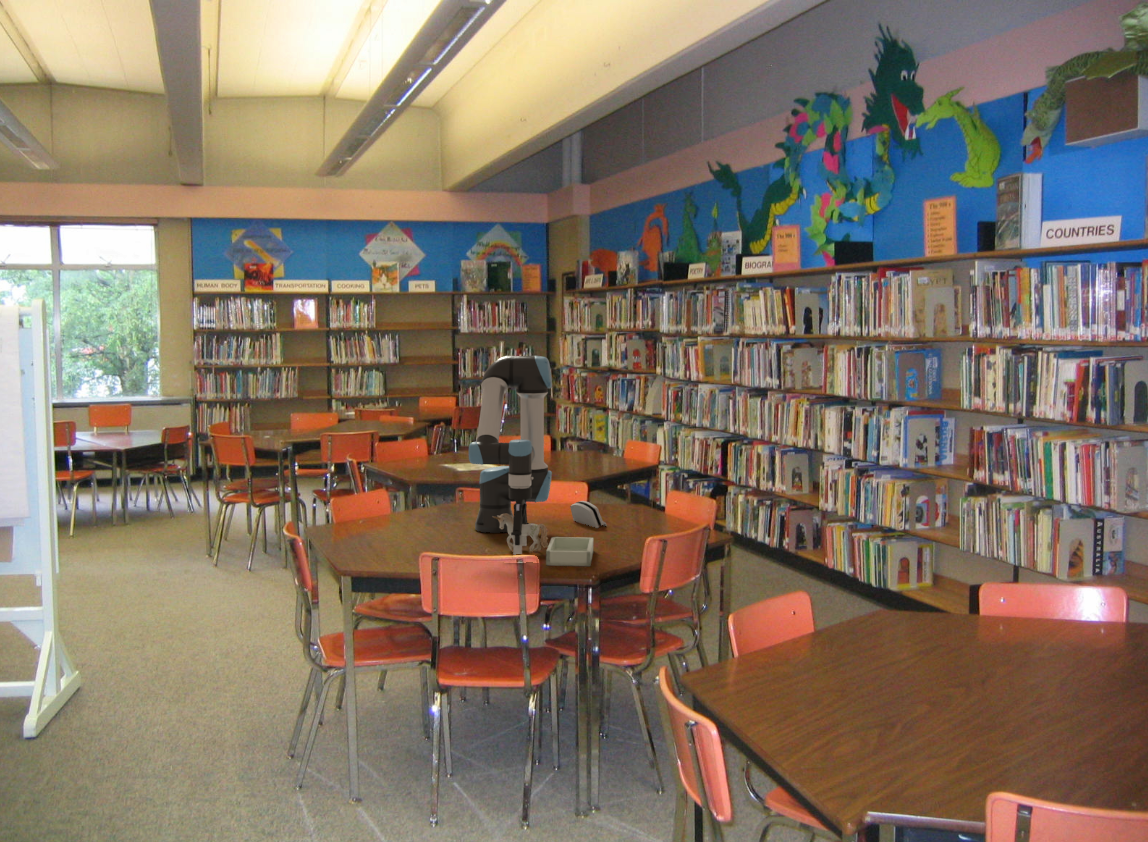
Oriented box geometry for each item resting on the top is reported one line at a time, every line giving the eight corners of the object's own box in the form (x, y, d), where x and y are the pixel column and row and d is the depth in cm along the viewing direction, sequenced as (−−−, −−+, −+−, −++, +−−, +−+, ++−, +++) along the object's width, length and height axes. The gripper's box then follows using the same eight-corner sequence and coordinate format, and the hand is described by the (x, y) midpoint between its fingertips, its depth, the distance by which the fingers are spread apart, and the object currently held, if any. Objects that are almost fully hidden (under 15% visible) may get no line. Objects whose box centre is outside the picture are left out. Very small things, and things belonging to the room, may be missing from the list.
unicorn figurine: (488, 551, 326) (488, 512, 325) (545, 548, 331) (545, 510, 330) (492, 556, 319) (492, 516, 318) (550, 553, 324) (550, 513, 323)
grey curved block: (607, 526, 369) (600, 503, 367) (597, 532, 367) (590, 508, 365) (584, 519, 384) (577, 496, 381) (574, 524, 381) (567, 501, 379)
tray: (546, 565, 307) (546, 551, 307) (551, 550, 329) (552, 536, 329) (590, 566, 306) (590, 552, 306) (593, 550, 328) (593, 537, 328)
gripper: (527, 492, 308) (527, 558, 310) (535, 481, 333) (535, 542, 335) (503, 492, 308) (503, 558, 310) (513, 480, 333) (513, 541, 335)
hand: (520, 550), depth 323 cm, fingers open, 13 cm apart
